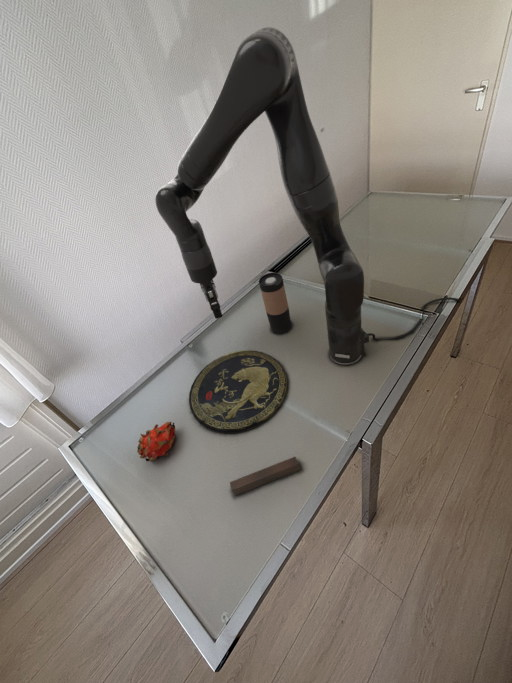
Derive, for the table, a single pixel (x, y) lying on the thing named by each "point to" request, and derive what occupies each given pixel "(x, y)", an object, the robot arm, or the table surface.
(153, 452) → the dragon fruit
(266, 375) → the decorative plate
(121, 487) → the table surface
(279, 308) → the travel mug
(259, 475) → the rail
